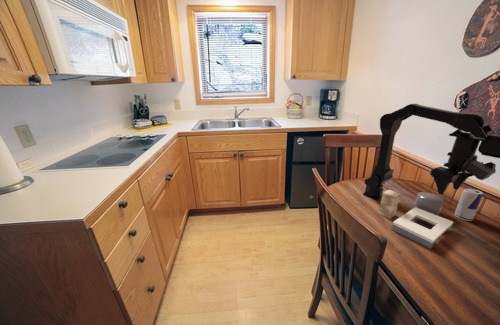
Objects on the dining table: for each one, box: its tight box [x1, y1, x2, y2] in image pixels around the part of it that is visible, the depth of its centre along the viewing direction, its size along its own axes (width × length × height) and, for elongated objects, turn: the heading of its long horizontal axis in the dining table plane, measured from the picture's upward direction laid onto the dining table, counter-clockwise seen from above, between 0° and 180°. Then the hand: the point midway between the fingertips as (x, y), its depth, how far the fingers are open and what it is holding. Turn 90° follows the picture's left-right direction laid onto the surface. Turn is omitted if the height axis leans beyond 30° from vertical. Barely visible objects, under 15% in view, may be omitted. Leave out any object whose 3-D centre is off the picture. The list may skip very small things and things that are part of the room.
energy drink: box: [454, 187, 484, 222], centre depth 82 cm, size 5×5×12 cm
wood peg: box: [377, 189, 402, 219], centre depth 85 cm, size 4×4×10 cm
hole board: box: [390, 207, 454, 250], centre depth 77 cm, size 12×18×4 cm, turn 122°
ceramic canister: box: [413, 191, 445, 216], centre depth 87 cm, size 8×8×7 cm
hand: (448, 191), depth 76 cm, fingers open, 9 cm apart
